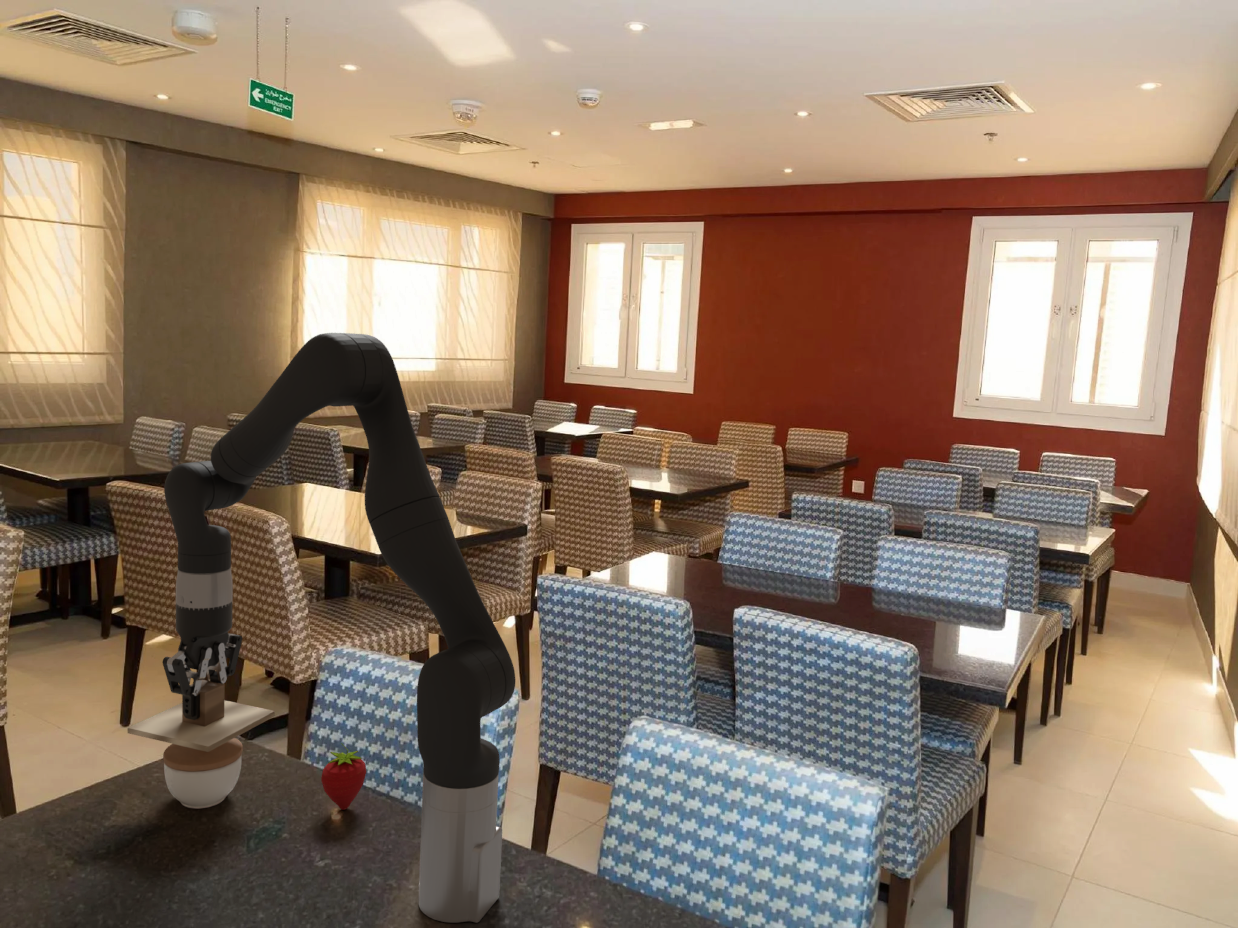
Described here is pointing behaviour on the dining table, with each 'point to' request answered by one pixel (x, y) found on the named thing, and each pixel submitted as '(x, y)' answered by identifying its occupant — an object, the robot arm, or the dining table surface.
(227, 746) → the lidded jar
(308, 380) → the robot arm
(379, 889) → the dining table surface
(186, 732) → the lid
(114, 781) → the dining table surface
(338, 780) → the strawberry
